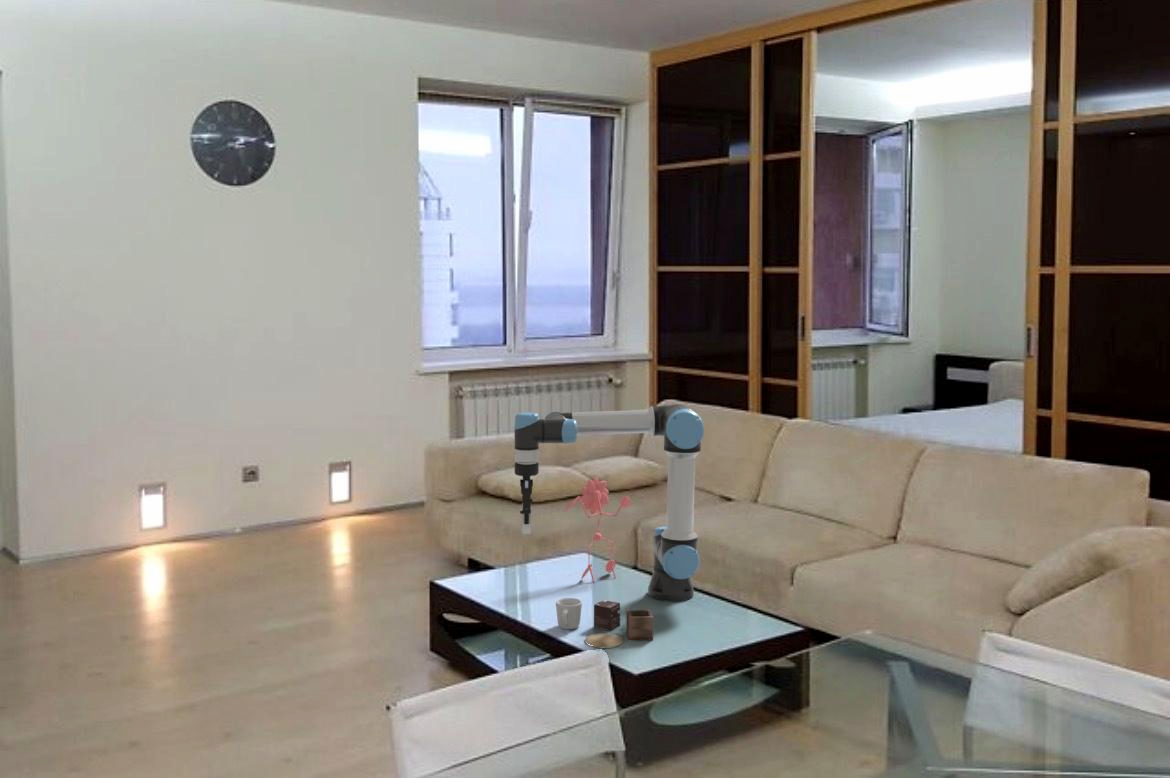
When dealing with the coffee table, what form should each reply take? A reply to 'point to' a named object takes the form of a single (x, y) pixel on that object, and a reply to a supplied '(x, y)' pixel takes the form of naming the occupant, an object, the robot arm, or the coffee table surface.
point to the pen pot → (639, 625)
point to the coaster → (604, 640)
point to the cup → (568, 612)
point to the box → (606, 615)
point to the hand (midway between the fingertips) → (526, 528)
